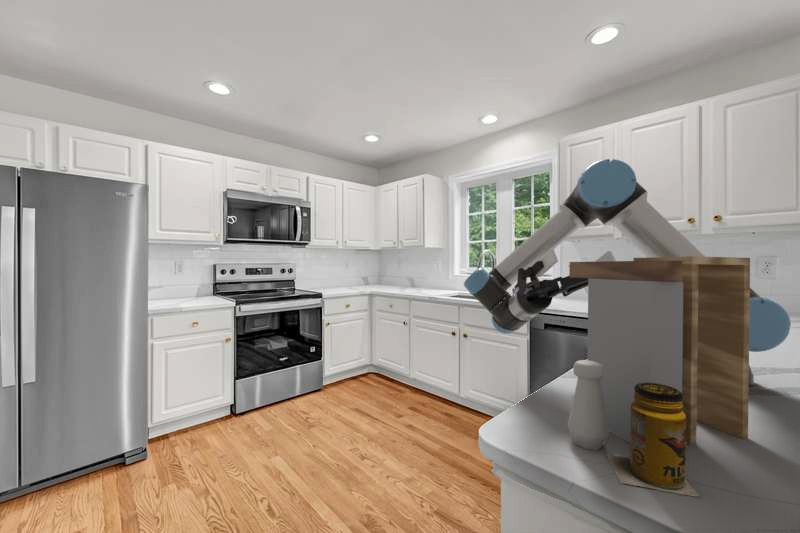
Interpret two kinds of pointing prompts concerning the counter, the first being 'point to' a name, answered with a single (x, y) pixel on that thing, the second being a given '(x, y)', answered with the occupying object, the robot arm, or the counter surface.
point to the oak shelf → (715, 342)
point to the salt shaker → (588, 407)
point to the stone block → (634, 341)
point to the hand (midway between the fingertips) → (584, 255)
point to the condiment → (656, 441)
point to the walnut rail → (628, 270)
